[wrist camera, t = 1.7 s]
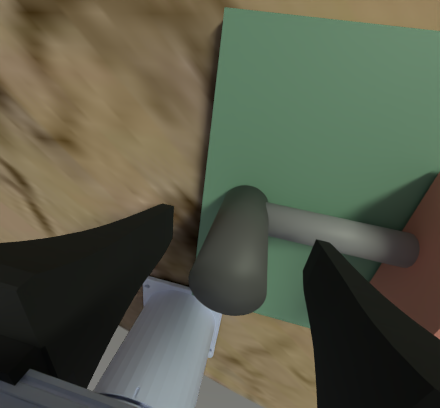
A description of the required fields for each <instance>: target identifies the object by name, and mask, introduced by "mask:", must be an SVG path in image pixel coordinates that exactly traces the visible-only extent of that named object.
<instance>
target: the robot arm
mask: <svg viewBox="0 0 440 408" xmlns="http://www.w3.org/2000/svg"><path fill="white" fill-rule="evenodd" d="M173 213H174V206H171V205H166V204H160V205H157V206H155V207H152V208H150V209H147V210H145V211H142V212H140V213H137V214H135V215H132V216H130V217H127V218H124V219H121V220H119V221H116V222H113V223H110V224H107V225H104V226H100V227H97V228H93V229H89V230H85V231H81V232H76V233H71V234H66V235H62V236H56V237H50V238H43V239H36V240H28V241H19V242H7V243H0V408H195V405H196V402H197V398H198V394H199V390H200V386H201V382H202V378H203V374H204V370H205V366H206V361H207V357H208V358H211V357H213V353H214V349H215V344H216V340H217V335H218V330H219V326H220V321H221V317H222V314H221V313H218V312H215V311H213V310H211V309H209V308H207V307H206V306H204V305H203V304H202V303H200V302H199V301H198V300H197V299H196V297H195V296H193V295H192V291H191V289H190V287H187V286H183V285H180V284H176V283H172V282H169V281H165V280H162V279H158V278H154V277H151V276H149V275H150V273H151V272H152V270H153V269H154V268H155V266H156V265H157V263H158V262H159V261H160V259H161V258H162V256H163V255H164V253H165V251H166V250H167V248H168V246H169V244H170V242H171V240H172V235H173ZM142 284H143V304H144V308H143V310H142V311H141V313H140V315H139V316H138V318H137V319H136V321H135V323H134V324H133V326H132V328H131V329H130V331H129V333H128V334H127V336H126V338H125V339H124V341H123V343H122V344H121V346H120V347H119V349H118V351H117V352H116V354H115V356H114V358H113V359H112V361H111V362H110V364H109V366H108V367H107V369H106V371H105V372H104V374H103V376H102V377H101V379H100V381H99V382H98V384H97V385H96V387H95V389H94V390H93V391H91V390H88V389H87V387H88V385H89V382H90V380H91V378H92V376H93V374H94V372H95V370H96V368H97V366H98V364H99V362H100V360H101V358H102V355H103V354H104V352H105V350H106V348H107V346H108V344H109V342H110V340H111V338H112V336H113V334H114V332H115V331H116V329H117V327H118V325H119V323H120V321H121V320H122V318H123V316H124V314H125V312H126V310H127V309H128V307H129V305H130V303H131V302H132V300H133V298H134V296H135V295H136V293H137V292H138V290H139V289H140V287H141V286H142ZM303 290H304V296H305V302H306V308H307V313H308V318H309V324H310V329H311V334H312V341H313V348H314V360H315V372H316V389H317V408H440V339H438V338H437V337H436V336H434V335H433V334H432V333H430V332H429V331H428V330H426V329H425V328H423V327H422V326H421V325H419V324H418V323H417V322H415V321H414V320H413V319H411V318H410V317H409V316H408V315H406V314H405V313H404V312H403V311H401V310H400V309H399V308H398V307H396V306H395V305H394V304H393V303H392V302H390V301H389V300H388V299H387V298H386V297H385V296H383V295H382V294H381V293H380V292H379V291H378V290H377V289H376V288H375V287H374V286H373V285H372V284H370V283H369V282H368V281H367V280H366V279H365V278H364V277H363V276H362V275H361V274H360V273H359V272H358V271H357V270H356V269H355V268H354V267H353V266H352V265H351V264H350V263H349V262H348V261H347V259H346V258H345V257H344V256H343V255H342V254H341V253H340V252H339V251H338V250H337V249H336V248H335V247H334V246H333V245H332V244H331V243H330V242H326V241H322V240H317V239H316V241H315V243H314V245H313V248H312V250H311V252H310V255H309V257H308V259H307V262H306V264H305V266H304V269H303Z"/></svg>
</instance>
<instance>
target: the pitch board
mask: <svg viewBox="0 0 440 408" xmlns="http://www.w3.org/2000/svg"><path fill="white" fill-rule="evenodd" d="M439 172H440V31H433V30H424V29H415V28H406V27H397V26H388V25H379V24H370V23H361V22H352V21H343V20H334V19H325V18H316V17H307V16H298V15H289V14H280V13H271V12H262V11H253V10H244V9H235V8H226V7H225V9H224V18H223V27H222V35H221V44H220V53H219V61H218V70H217V79H216V88H215V96H214V105H213V114H212V122H211V131H210V140H209V149H208V157H207V166H206V175H205V183H204V192H203V201H202V210H201V218H200V227H199V236H198V244H197V253H196V258H197V256H198V254H199V252H200V250H201V247H202V245H203V243H204V241H205V239H206V237H207V234H208V232H209V230H210V228H211V226H212V224H213V222H214V219H215V217H216V215H217V213H218V211H219V209H220V207H221V204H222V202H223V200H224V198H225V196H226V194H227V193H228V192H229V191H230V190H231V189H233V188H234V187H237V186H241V185H249V186H253V187H256V188H258V189H259V190H261V191H262V192H263V193H264V194H265V196H266V197H267V199H268V202H269V203H274V204H278V205H283V206H288V207H292V208H297V209H301V210H306V211H311V212H315V213H320V214H324V215H329V216H334V217H338V218H343V219H348V220H352V221H357V222H361V223H366V224H371V225H375V226H380V227H384V228H389V229H394V230H398V231H402V230H403V229H404V227H405V226H406V224H407V223H408V221H409V219H410V218H411V216H412V215H413V213H414V211H415V210H416V208H417V207H418V205H419V204H420V202H421V200H422V199H423V197H424V196H425V194H426V193H427V191H428V189H429V188H430V186H431V185H432V183H433V181H434V180H435V178H436V177H437V175H438V174H439ZM312 248H313V246H309V245H304V244H300V243H296V242H292V241H287V240H283V239H279V238H275V237H270V236H268V266H267V295H266V299H265V301H264V303H263V304H262V306H261V307H260V308H258V309H257V310H256V311H254V313H258V314H261V315H265V316H268V317H272V318H275V319H279V320H283V321H286V322H290V323H293V324H297V325H300V326H304V327H308V328H310V324H309V318H308V313H307V308H306V302H305V296H304V290H303V269H304V266H305V264H306V262H307V259H308V257H309V255H310V252H311V250H312ZM341 254H342V253H341ZM342 255H343V256H344V257H345V258H346V259H347V261H348V262H349V263H350V264H351V265H352V266H353V267H354V268H355V269H356V270H357V271H358V272H359V273H360V274H361V275H362V276H363V277H364V278H365V279H366V280H367V281H368V282H369V283H370V281H371V279H372V278H373V276H374V275H375V273H376V272H377V270H378V268H379V267H380V265H381V264H382V263H381V262H376V261H372V260H368V259H364V258H359V257H355V256H351V255H347V254H342ZM192 295H193V293H192ZM193 296H194V295H193Z"/></svg>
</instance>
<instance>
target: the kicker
mask: <svg viewBox="0 0 440 408" xmlns="http://www.w3.org/2000/svg"><path fill="white" fill-rule="evenodd" d="M268 236H270V237H275V238H279V239H283V240H287V241H292V242H296V243H300V244H304V245H309V246H313V245H314V243H315V241H316V239H317V240H322V241H326V242H330V243H331V244H332V245H333V246H334V247H335V248H336V249H337V250H338V251H339V252H340V253H342V254H347V255H351V256H355V257H359V258H364V259H368V260H372V261H376V262H381V263H382V264H381V265H380V267H379V268H378V270H377V272H376V273H375V275H374V276H373V278H372V279H371V281H370V284H372V285H373V286H374V287H375V288H376V289H377V290H378V291H379V292H380V293H381V294H382V295H383V296H385V297H386V298H387V299H388V300H389V301H390V302H392V303H393V304H394V305H395V306H396V307H398V308H399V309H400V310H401V311H403V312H404V313H405V314H406V315H408V316H409V317H410V318H411V319H413V320H414V321H415V322H417V323H418V324H419V325H421V326H422V327H423V328H425V329H426V330H428V331H429V332H430V333H432V334H433V335H434V336H436V337H437V338H438V339H440V172H439V174H438V175H437V177H436V178H435V180H434V181H433V183H432V185H431V186H430V188H429V189H428V191H427V193H426V194H425V196H424V197H423V199H422V200H421V202H420V204H419V205H418V207H417V208H416V210H415V211H414V213H413V215H412V216H411V218H410V219H409V221H408V223H407V224H406V226H405V227H404V229H403V230H402V231H398V230H394V229H389V228H384V227H380V226H375V225H371V224H366V223H361V222H357V221H352V220H348V219H343V218H338V217H334V216H329V215H324V214H320V213H315V212H311V211H306V210H301V209H297V208H292V207H288V206H283V205H278V204H274V203H269V202H268V199H267V197H266V196H265V194H264V193H263V192H262V191H261V190H259V189H258V188H256V187H253V186H249V185H241V186H237V187H234V188H233V189H231V190H230V191H229V192H228V193H227V194H226V196H225V198H224V200H223V202H222V204H221V207H220V209H219V211H218V213H217V215H216V217H215V219H214V222H213V224H212V226H211V228H210V230H209V232H208V234H207V237H206V239H205V241H204V243H203V245H202V247H201V250H200V252H199V254H198V256H197V258H196V260H195V262H194V265H193V267H192V269H191V271H190V274H189V286H190V289H191V291H192V293H193V295H194V296H195V297H196V299H197V300H198V301H199V302H200V303H202V304H203V305H204V306H206V307H207V308H209V309H211V310H213V311H215V312H218V313H221V314H225V315H233V316H239V315H246V314H249V313H252V312H254V311H256V310H257V309H258V308H260V307H261V306H262V304H263V303H264V301H265V299H266V295H267V266H268Z"/></svg>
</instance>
